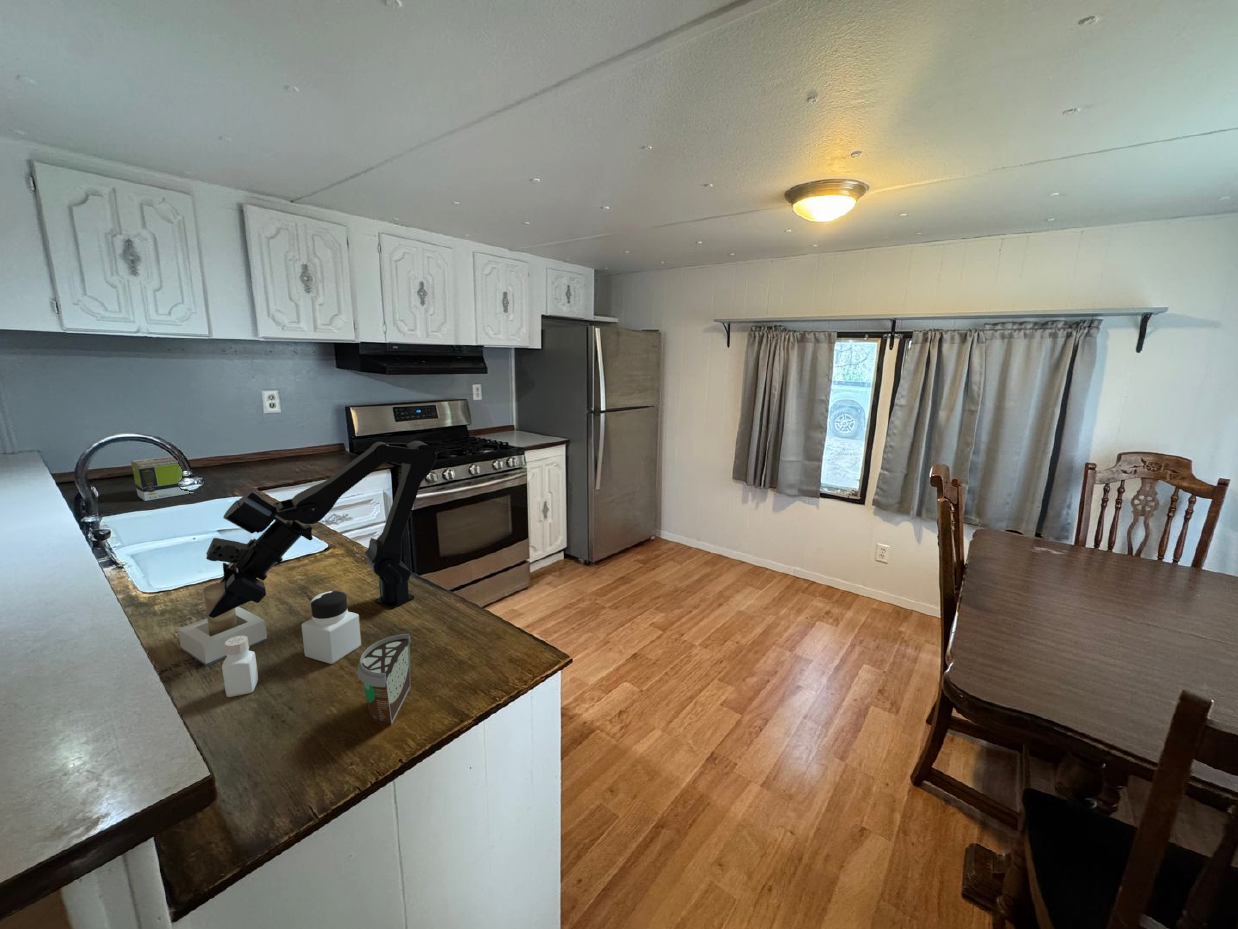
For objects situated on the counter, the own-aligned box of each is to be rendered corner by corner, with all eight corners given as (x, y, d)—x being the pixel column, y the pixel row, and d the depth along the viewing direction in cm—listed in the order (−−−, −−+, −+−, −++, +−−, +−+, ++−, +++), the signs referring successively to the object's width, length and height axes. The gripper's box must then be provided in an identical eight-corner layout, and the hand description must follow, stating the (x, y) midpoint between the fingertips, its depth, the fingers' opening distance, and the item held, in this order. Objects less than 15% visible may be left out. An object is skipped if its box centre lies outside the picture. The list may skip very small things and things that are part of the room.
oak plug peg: (244, 638, 101) (238, 583, 99) (223, 649, 97) (216, 593, 95) (226, 635, 102) (219, 580, 100) (204, 646, 98) (197, 590, 95)
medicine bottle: (362, 645, 101) (357, 591, 99) (331, 665, 94) (326, 607, 92) (335, 638, 103) (330, 584, 101) (304, 657, 97) (297, 600, 94)
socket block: (267, 640, 102) (264, 620, 101) (206, 666, 93) (203, 644, 92) (241, 625, 107) (238, 606, 106) (181, 649, 98) (177, 628, 97)
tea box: (186, 489, 205) (180, 454, 202) (194, 493, 199) (188, 457, 196) (136, 496, 193) (130, 459, 190) (143, 501, 187) (137, 463, 184)
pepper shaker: (225, 699, 84) (217, 649, 82) (232, 685, 88) (225, 636, 86) (253, 694, 86) (247, 644, 84) (259, 680, 90) (253, 632, 88)
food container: (378, 682, 90) (374, 632, 88) (413, 681, 90) (410, 632, 88) (347, 733, 78) (342, 676, 76) (388, 731, 78) (384, 675, 76)
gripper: (231, 511, 104) (169, 573, 99) (235, 537, 90) (163, 611, 85) (281, 539, 111) (224, 598, 106) (292, 568, 96) (227, 637, 92)
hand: (210, 610), depth 97 cm, fingers open, 6 cm apart
